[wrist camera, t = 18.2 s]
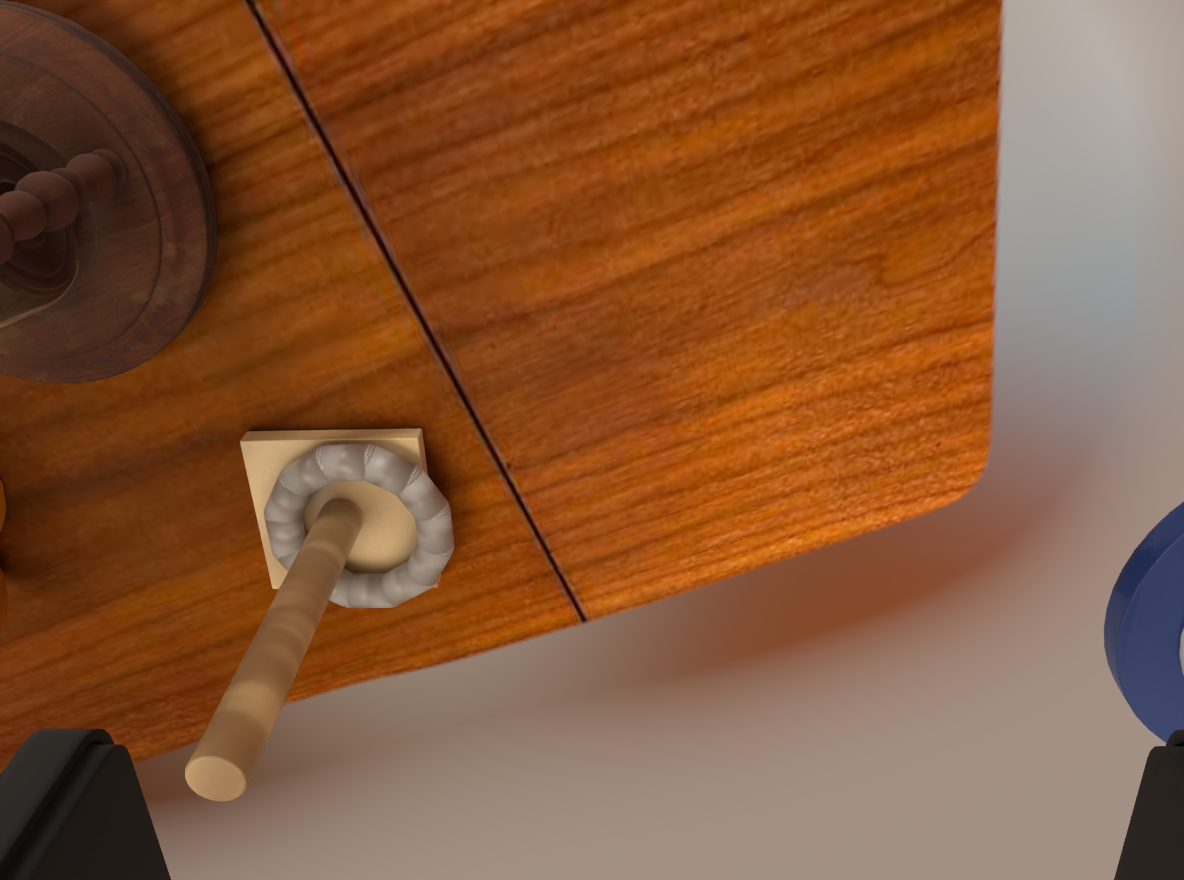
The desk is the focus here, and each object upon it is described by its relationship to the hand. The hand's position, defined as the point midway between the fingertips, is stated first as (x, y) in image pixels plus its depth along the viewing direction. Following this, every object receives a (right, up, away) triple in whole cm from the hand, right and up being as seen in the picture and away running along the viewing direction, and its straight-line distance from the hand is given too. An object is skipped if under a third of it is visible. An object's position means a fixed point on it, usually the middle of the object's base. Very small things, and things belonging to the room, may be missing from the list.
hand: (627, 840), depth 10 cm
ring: (-11, 0, +37) cm, 39 cm away
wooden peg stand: (-12, +1, +39) cm, 41 cm away
